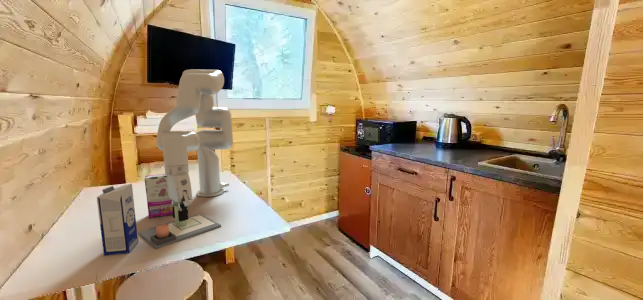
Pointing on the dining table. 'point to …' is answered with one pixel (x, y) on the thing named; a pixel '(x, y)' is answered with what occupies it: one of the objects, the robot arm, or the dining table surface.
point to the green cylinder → (176, 208)
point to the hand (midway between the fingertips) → (180, 218)
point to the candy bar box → (158, 196)
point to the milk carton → (117, 220)
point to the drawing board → (180, 231)
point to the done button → (162, 230)
